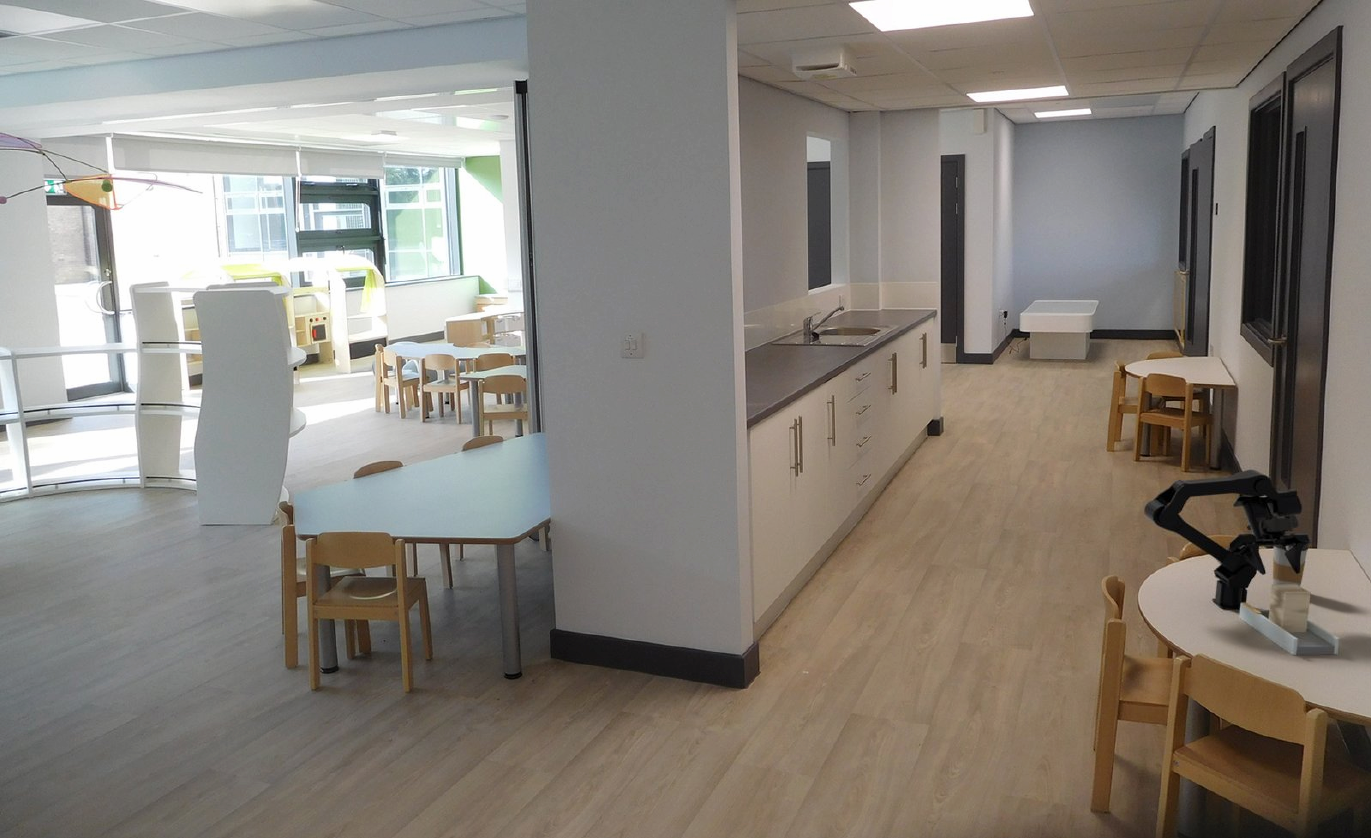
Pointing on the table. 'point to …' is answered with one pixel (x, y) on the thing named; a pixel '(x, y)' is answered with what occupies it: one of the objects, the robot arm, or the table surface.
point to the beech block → (1289, 607)
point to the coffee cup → (1286, 567)
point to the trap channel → (1291, 634)
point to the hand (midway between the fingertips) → (1281, 573)
